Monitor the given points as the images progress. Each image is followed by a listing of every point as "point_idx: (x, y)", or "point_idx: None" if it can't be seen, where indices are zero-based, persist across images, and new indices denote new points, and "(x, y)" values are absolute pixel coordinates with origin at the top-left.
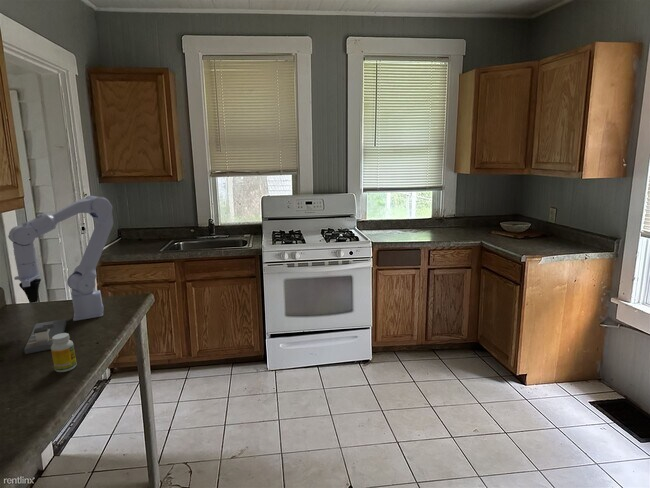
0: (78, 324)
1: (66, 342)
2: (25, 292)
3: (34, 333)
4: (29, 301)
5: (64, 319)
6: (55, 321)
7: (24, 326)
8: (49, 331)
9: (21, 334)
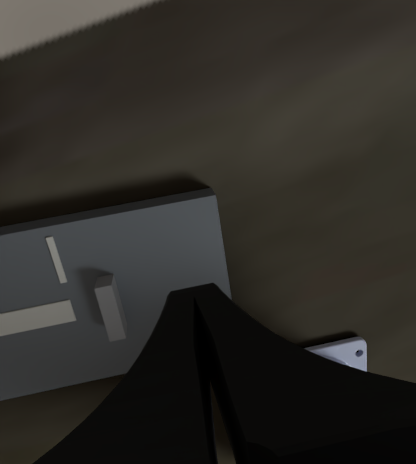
0: None
1: None
2: (119, 388)
3: (18, 251)
4: (166, 299)
5: None
6: None
7: (275, 92)
8: (33, 330)
9: (118, 126)
